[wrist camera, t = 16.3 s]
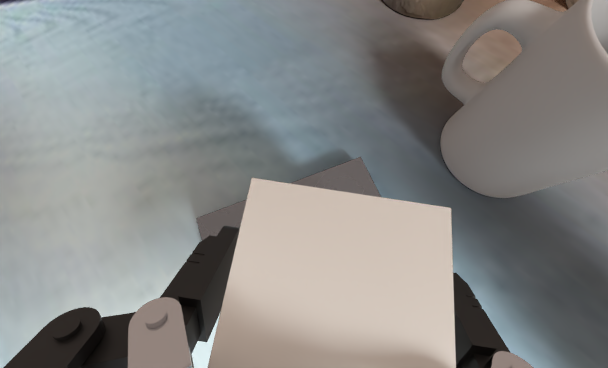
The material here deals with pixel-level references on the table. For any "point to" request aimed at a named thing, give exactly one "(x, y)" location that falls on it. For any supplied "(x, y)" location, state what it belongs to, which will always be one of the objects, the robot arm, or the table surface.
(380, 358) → the white rectangular block
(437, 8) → the pillar candle
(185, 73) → the table surface
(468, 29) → the mug
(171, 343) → the robot arm
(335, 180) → the base plate
